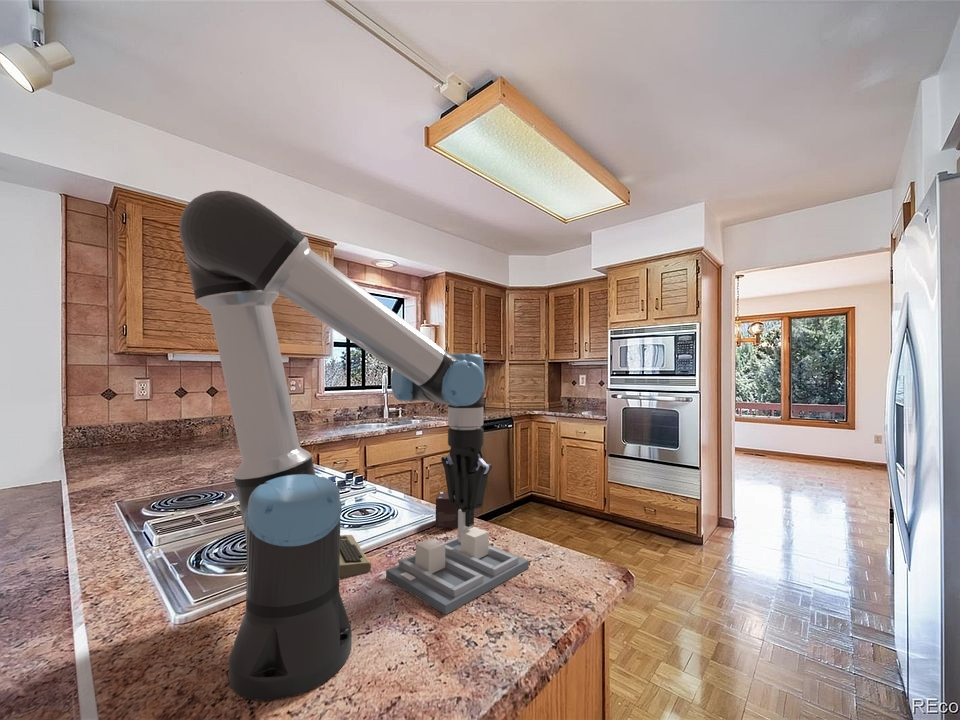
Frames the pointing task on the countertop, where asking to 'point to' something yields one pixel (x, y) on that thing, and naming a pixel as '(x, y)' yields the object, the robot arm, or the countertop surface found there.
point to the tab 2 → (474, 542)
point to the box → (445, 511)
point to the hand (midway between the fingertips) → (465, 540)
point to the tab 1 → (430, 555)
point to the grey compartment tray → (456, 576)
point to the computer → (352, 558)
